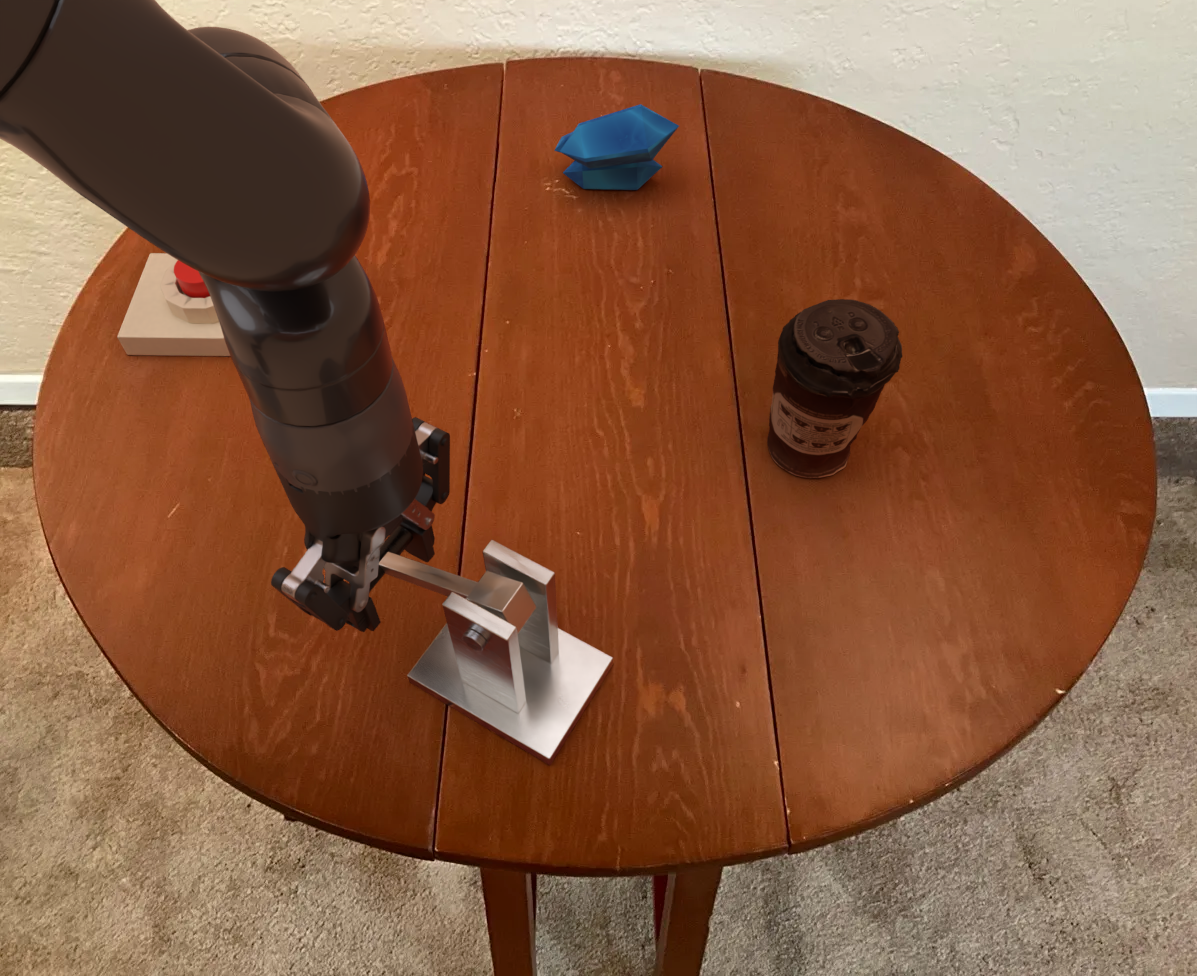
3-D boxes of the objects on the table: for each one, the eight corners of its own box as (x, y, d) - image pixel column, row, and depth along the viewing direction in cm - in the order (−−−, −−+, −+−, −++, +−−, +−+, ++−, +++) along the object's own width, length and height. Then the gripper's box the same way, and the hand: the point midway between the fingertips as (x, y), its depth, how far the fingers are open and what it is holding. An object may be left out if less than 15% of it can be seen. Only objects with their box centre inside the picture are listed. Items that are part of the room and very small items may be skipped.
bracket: (409, 682, 64) (377, 597, 54) (477, 591, 68) (459, 496, 58) (550, 766, 61) (543, 691, 51) (613, 664, 65) (618, 578, 55)
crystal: (543, 98, 90) (670, 69, 88) (565, 173, 97) (684, 148, 95) (543, 147, 85) (677, 118, 84) (567, 223, 92) (691, 198, 91)
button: (175, 298, 79) (167, 282, 77) (187, 264, 81) (180, 248, 80) (224, 299, 79) (217, 283, 77) (235, 265, 81) (229, 249, 80)
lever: (358, 599, 61) (341, 576, 60) (405, 541, 64) (390, 518, 62) (503, 655, 55) (488, 631, 53) (549, 589, 57) (536, 563, 56)
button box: (127, 355, 80) (107, 321, 77) (158, 271, 86) (142, 236, 82) (283, 357, 80) (271, 323, 77) (305, 273, 86) (294, 238, 83)
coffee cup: (850, 508, 72) (897, 395, 62) (742, 478, 74) (769, 363, 63) (870, 422, 77) (916, 303, 66) (768, 395, 78) (797, 275, 68)
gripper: (367, 316, 55) (411, 486, 69) (187, 496, 48) (276, 645, 62) (477, 367, 53) (499, 532, 67) (305, 564, 46) (370, 702, 60)
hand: (392, 586), depth 64 cm, fingers open, 5 cm apart
